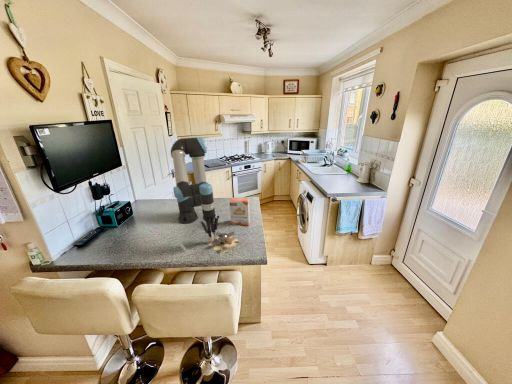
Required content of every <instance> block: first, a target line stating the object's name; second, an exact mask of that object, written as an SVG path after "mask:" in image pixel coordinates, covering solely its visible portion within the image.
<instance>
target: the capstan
mask: <svg viewBox="0 0 512 384" xmlns="http://www.w3.org/2000/svg"><path fill="white" fill-rule="evenodd" d="M226 233H227V232H222V233H221V232H220V231H215V236H217V237H220V238H218V239H216V240H214V241H212V244H213V245H215V244H217V243H219V242H220V243H221V244H227V243H228V244H229V245H231V244H232V241H230V240H229V239H228V238H229V237H231V236H233V237H234V235H235V232H234V231H231V232H228V234H226Z"/></svg>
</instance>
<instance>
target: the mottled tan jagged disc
mask: <svg viewBox="0 0 512 384" xmlns="http://www.w3.org/2000/svg"><path fill="white" fill-rule="evenodd" d="M225 233H226V234H228V233H229V232H225ZM218 238H220V237H219V236H217V237H214V240H216V239H218ZM228 239H229V240H230V241H232V244H231V245H229V244H228V243H227V244H221V243H220V242H219V243H217V244H215V245H213V244H212V241H211V240H209V241H208V240H207V241H206V244H208V245H209V246H210V248H212V249H213V250H214V251H215V252H216V253H217V254H219V255H222V254H224V253H225V252H227V251H229V250H231V249H233V248H235V247H238V245H241V244H242V242H241V241H240V240H239V239H237V238H236V237H235V236H234V235H233V236H231V237H229V238H228Z"/></svg>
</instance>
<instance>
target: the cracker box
mask: <svg viewBox="0 0 512 384" xmlns="http://www.w3.org/2000/svg"><path fill="white" fill-rule="evenodd" d="M229 213H230V224H231V225H239V226H243V227H244V226H247V227H249V226H250V221H251V220H250V219H251V217H250V214H251V213H250V198H241V197H239V198H235V197H234V198H233V197H230V199H229Z"/></svg>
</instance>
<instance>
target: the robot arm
mask: <svg viewBox="0 0 512 384" xmlns="http://www.w3.org/2000/svg"><path fill="white" fill-rule="evenodd" d="M207 153H208V152H207V147H206V143H205V140H204V138H203V137H185V138H182V137H181V138H178V139H177V140H175V141H174V143H173V144H172V146H171V149H170V157H171V158H172V162H173V168H174V169H173V170H174V177H175V184H176V186H174V187H173V194H174V198H175V199H176V200H177V206H178V212H179V213H178V217H177V218H178V222H179V223H180V224H182V225H185V224H186V225H187V224H191V223H194V222H196V221H197V220H198V219H199V218H198V217H199V216H198V213H197V212H196V210H195V207H201V211H202V212H201V213H202V219H201V220H200V221H199V223H200V224H201V225H202V226H201V227H202V228H203V230H204V232H205V234H207V235H208V237H209V239H210V240H211V241H214V238H215V236H216V231H217V230H218V224H219V219H220V216H219V215H218V214H216V210H215V201H214V193H213V191H214V190H213V189H214V188H213V186H212V184H211V183H208V181H207V177H206V168H205V161H204V160H205V159H204V157H206V154H207ZM186 155H188V157H189V158H190V159H191V162H192V170H193V177H194V183H193V184H190V183H189V177H188V171H187V165H186V160H185V159H186V158H185V157H186ZM205 222H206V224H205ZM210 240H209V241H210Z"/></svg>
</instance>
